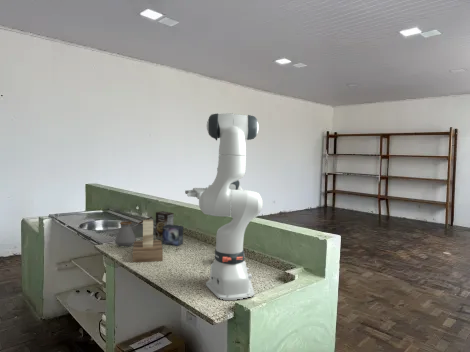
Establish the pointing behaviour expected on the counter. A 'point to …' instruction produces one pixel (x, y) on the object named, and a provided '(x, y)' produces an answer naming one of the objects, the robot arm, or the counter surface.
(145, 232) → the birch block
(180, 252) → the counter surface
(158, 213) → the coffee box
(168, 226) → the small box
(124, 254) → the counter surface
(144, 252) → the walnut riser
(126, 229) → the coffee pot
